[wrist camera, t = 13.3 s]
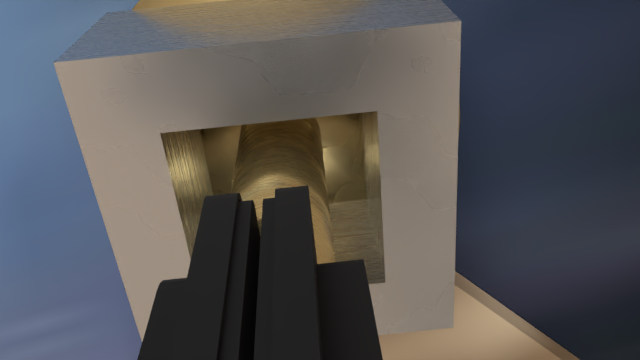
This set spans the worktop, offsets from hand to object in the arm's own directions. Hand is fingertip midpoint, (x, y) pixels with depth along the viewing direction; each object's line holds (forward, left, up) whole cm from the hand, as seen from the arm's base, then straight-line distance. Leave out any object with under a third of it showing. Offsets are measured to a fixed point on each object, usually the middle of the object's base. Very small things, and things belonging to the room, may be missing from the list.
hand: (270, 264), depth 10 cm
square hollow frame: (0, 0, -6) cm, 6 cm away
